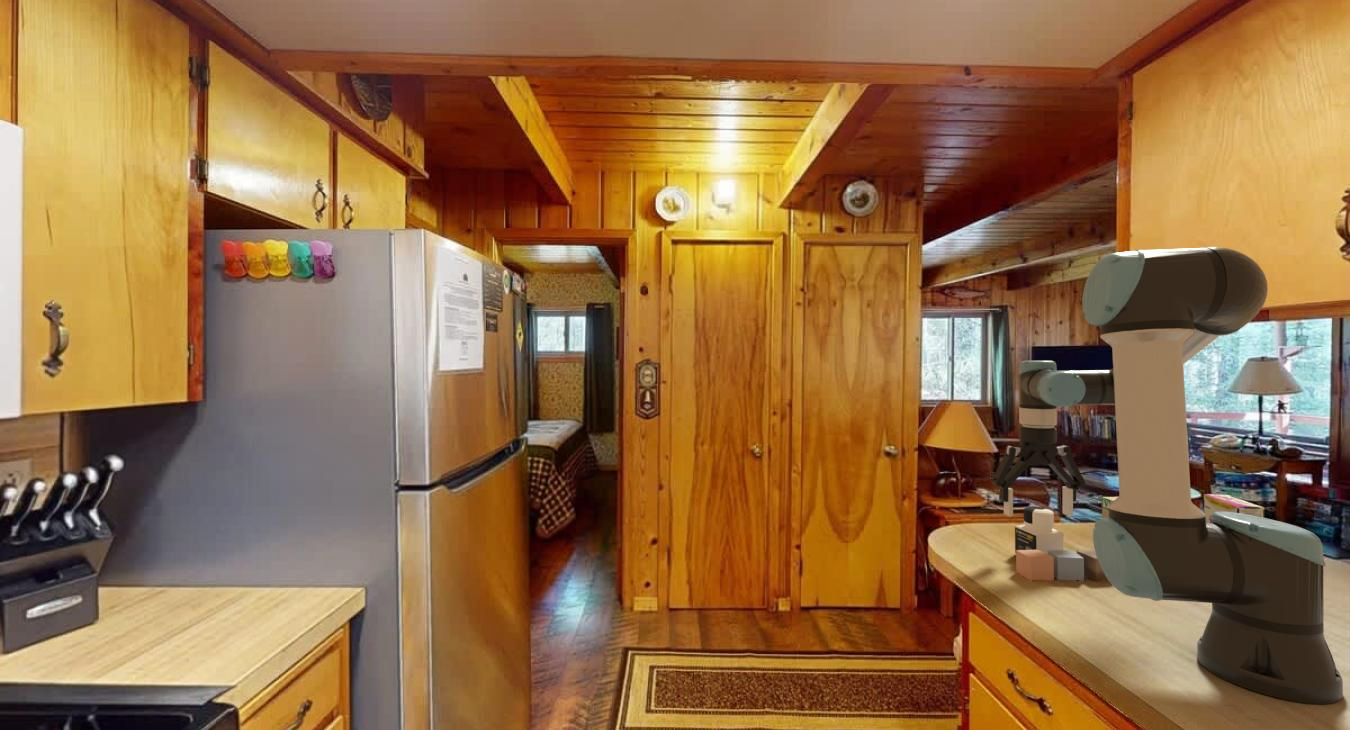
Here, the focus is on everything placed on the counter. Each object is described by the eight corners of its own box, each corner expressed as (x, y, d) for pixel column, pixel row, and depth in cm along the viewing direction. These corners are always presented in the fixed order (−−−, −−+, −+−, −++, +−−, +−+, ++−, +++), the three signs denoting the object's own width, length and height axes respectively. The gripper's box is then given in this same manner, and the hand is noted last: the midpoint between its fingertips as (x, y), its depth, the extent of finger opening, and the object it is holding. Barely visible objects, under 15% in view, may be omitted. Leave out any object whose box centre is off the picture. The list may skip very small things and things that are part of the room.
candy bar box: (1202, 565, 130) (1202, 493, 130) (1228, 567, 129) (1228, 494, 129) (1238, 584, 119) (1237, 505, 119) (1267, 586, 118) (1266, 506, 118)
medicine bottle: (1014, 554, 139) (1013, 505, 139) (1041, 553, 140) (1041, 503, 140) (1036, 564, 132) (1035, 512, 132) (1064, 563, 133) (1064, 511, 133)
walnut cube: (1117, 580, 123) (1117, 557, 123) (1095, 581, 122) (1095, 558, 122) (1097, 572, 128) (1097, 549, 128) (1076, 573, 127) (1076, 550, 127)
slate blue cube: (1084, 581, 122) (1083, 558, 122) (1057, 580, 123) (1057, 557, 123) (1072, 573, 127) (1072, 550, 127) (1047, 571, 128) (1047, 549, 128)
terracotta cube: (1053, 580, 123) (1053, 557, 123) (1030, 581, 123) (1030, 557, 123) (1038, 571, 128) (1038, 549, 128) (1016, 572, 128) (1016, 550, 128)
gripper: (1082, 423, 139) (1082, 510, 140) (975, 424, 140) (976, 510, 141) (1103, 427, 131) (1103, 519, 132) (991, 428, 133) (991, 519, 133)
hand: (1037, 515), depth 136 cm, fingers open, 13 cm apart
